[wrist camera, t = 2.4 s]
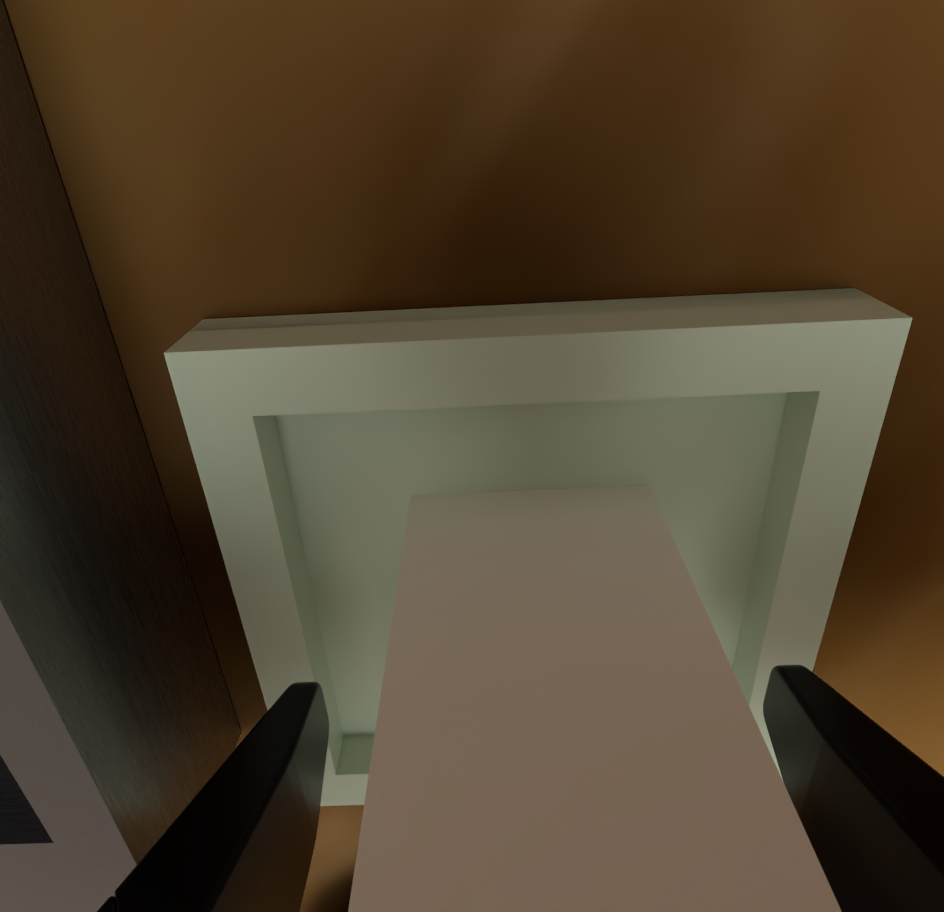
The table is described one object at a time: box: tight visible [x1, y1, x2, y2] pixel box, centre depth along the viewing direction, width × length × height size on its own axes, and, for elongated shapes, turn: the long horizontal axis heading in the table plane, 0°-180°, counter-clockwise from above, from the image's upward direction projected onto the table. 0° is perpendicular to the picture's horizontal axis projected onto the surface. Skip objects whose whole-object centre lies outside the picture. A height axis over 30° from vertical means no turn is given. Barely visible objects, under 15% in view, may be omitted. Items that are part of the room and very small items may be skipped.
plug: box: [348, 485, 842, 912], centre depth 8 cm, size 4×4×8 cm
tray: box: [164, 288, 912, 806], centre depth 12 cm, size 10×10×2 cm
